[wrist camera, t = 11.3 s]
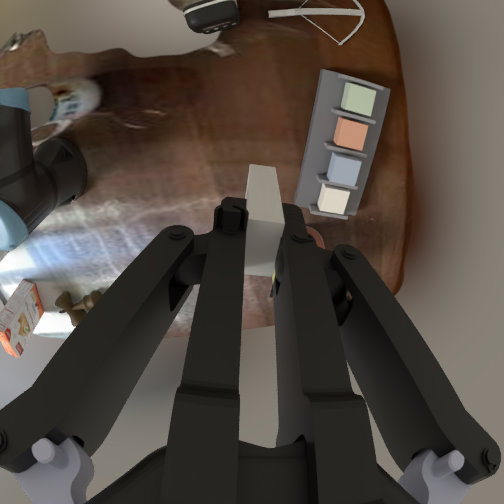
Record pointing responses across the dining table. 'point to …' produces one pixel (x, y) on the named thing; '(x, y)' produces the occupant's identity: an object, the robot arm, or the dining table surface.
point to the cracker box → (20, 318)
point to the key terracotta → (350, 133)
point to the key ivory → (333, 198)
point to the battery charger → (212, 15)
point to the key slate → (343, 169)
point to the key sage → (358, 99)
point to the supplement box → (2, 254)
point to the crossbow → (321, 12)
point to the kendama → (77, 305)
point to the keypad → (323, 144)
